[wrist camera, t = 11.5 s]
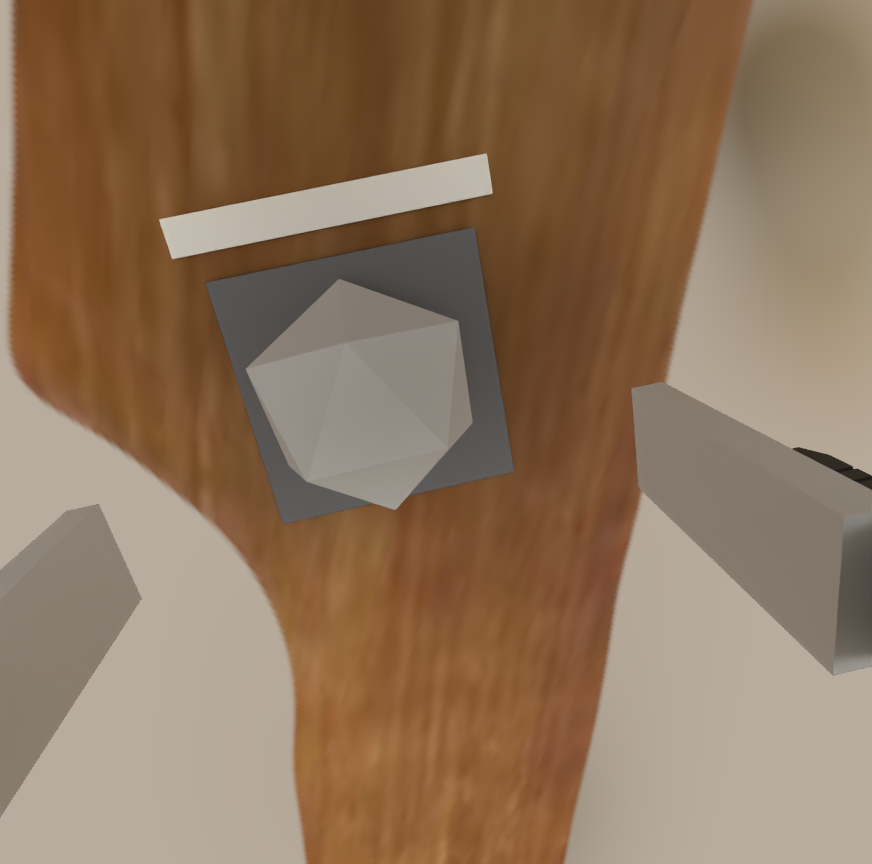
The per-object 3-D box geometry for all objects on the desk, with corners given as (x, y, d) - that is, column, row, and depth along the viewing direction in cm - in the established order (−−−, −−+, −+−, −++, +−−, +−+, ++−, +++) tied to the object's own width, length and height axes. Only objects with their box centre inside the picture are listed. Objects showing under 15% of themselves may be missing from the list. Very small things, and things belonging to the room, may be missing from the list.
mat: (484, 155, 24) (486, 153, 24) (530, 464, 29) (533, 468, 29) (163, 220, 24) (159, 219, 23) (264, 524, 28) (263, 529, 28)
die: (296, 472, 28) (419, 583, 22) (172, 360, 22) (297, 474, 16) (404, 358, 30) (546, 431, 24) (320, 224, 23) (484, 277, 17)
